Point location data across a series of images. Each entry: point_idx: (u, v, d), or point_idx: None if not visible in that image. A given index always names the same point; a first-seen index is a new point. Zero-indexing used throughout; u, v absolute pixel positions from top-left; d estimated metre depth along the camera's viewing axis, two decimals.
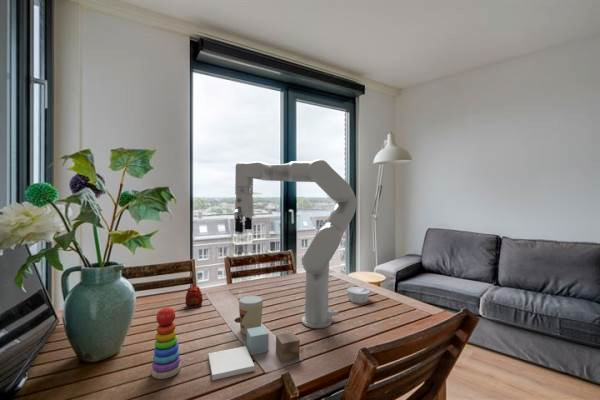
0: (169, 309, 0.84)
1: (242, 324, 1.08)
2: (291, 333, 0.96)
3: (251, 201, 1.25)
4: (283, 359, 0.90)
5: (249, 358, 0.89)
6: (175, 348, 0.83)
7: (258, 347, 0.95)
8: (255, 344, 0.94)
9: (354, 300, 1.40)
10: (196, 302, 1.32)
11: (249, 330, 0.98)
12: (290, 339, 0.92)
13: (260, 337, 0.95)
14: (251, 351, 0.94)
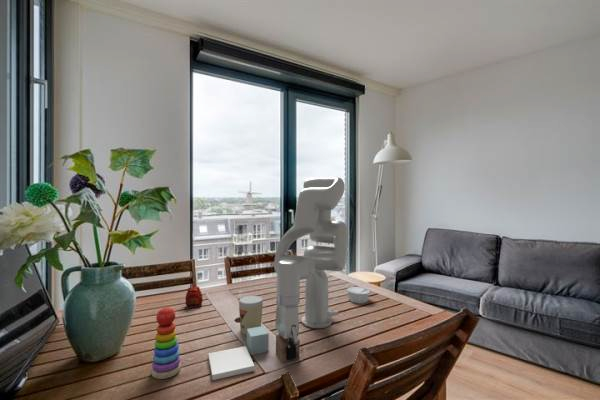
0: (169, 309, 0.84)
1: (242, 324, 1.08)
2: None
3: (281, 315, 0.91)
4: (283, 359, 0.90)
5: (249, 358, 0.89)
6: (175, 348, 0.83)
7: (258, 347, 0.95)
8: (255, 344, 0.94)
9: (354, 300, 1.40)
10: (196, 302, 1.32)
11: (249, 330, 0.98)
12: (290, 339, 0.92)
13: (260, 338, 0.95)
14: (251, 351, 0.94)
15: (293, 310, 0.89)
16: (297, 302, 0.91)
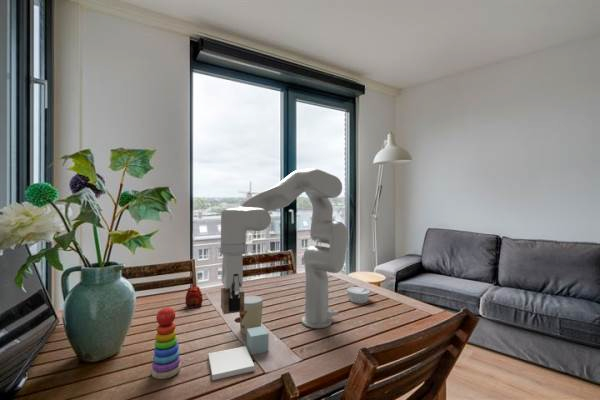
0: (169, 309, 0.84)
1: (242, 324, 1.08)
2: None
3: (224, 264, 0.85)
4: (225, 310, 0.84)
5: (249, 358, 0.89)
6: (175, 348, 0.83)
7: (258, 347, 0.95)
8: (255, 344, 0.94)
9: (354, 300, 1.40)
10: (196, 302, 1.32)
11: (249, 330, 0.98)
12: None
13: (260, 338, 0.95)
14: (251, 351, 0.94)
15: (236, 258, 0.84)
16: (242, 251, 0.86)
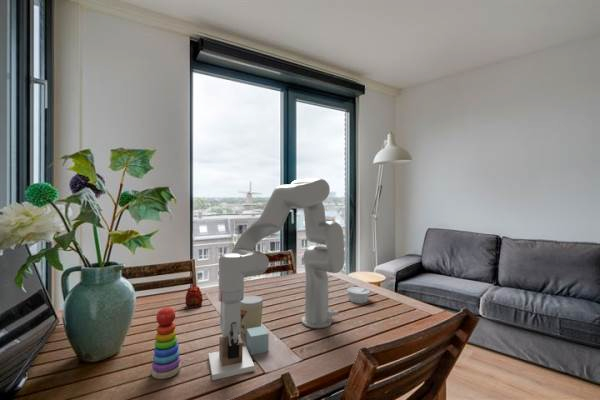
0: (169, 309, 0.84)
1: (242, 324, 1.08)
2: None
3: (222, 311, 0.85)
4: (224, 363, 0.84)
5: (249, 358, 0.89)
6: (175, 348, 0.83)
7: (258, 347, 0.95)
8: (255, 344, 0.94)
9: (354, 300, 1.40)
10: (196, 302, 1.32)
11: (249, 330, 0.98)
12: None
13: (260, 338, 0.95)
14: (251, 351, 0.94)
15: (234, 307, 0.84)
16: (239, 298, 0.86)
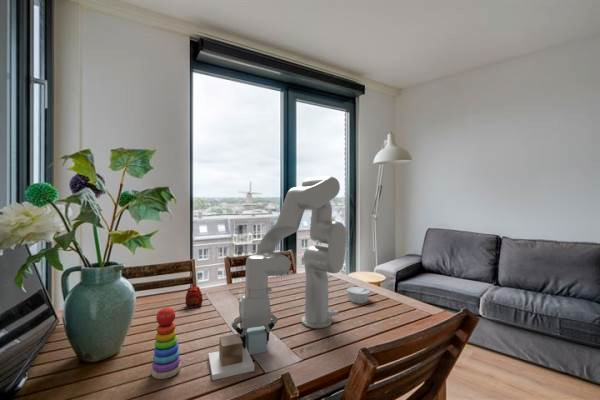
0: (169, 309, 0.84)
1: None
2: (236, 335, 0.91)
3: None
4: (224, 363, 0.84)
5: (249, 358, 0.89)
6: (175, 348, 0.83)
7: (257, 348, 0.94)
8: (253, 344, 0.94)
9: (354, 300, 1.40)
10: (196, 302, 1.32)
11: (247, 330, 0.98)
12: (233, 341, 0.87)
13: (258, 338, 0.95)
14: (249, 351, 0.94)
15: (242, 300, 0.95)
16: (248, 296, 0.94)
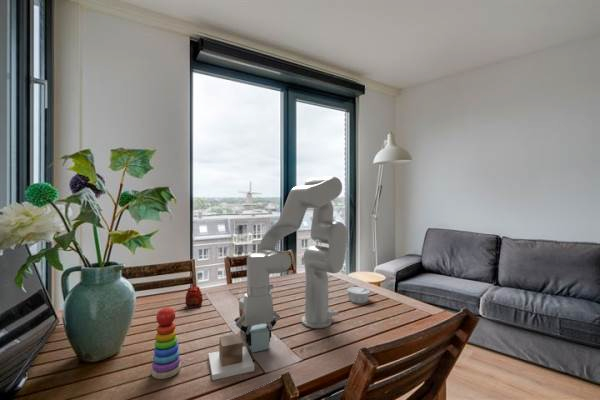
0: (169, 309, 0.84)
1: (242, 324, 1.08)
2: (236, 335, 0.91)
3: None
4: (224, 363, 0.84)
5: (249, 358, 0.89)
6: (175, 348, 0.83)
7: (260, 345, 0.95)
8: (256, 342, 0.95)
9: (354, 300, 1.40)
10: (196, 302, 1.32)
11: None
12: (233, 341, 0.87)
13: (261, 335, 0.95)
14: (252, 349, 0.94)
15: (245, 298, 0.96)
16: (250, 294, 0.94)
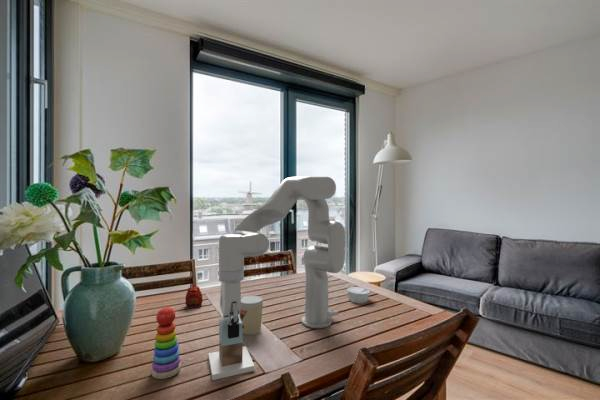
0: (169, 309, 0.84)
1: (242, 324, 1.08)
2: None
3: (222, 291, 0.85)
4: (224, 363, 0.84)
5: (249, 358, 0.89)
6: (175, 348, 0.83)
7: None
8: None
9: (354, 300, 1.40)
10: (196, 302, 1.32)
11: (226, 324, 0.85)
12: None
13: None
14: (241, 338, 0.87)
15: (234, 286, 0.84)
16: (240, 278, 0.86)
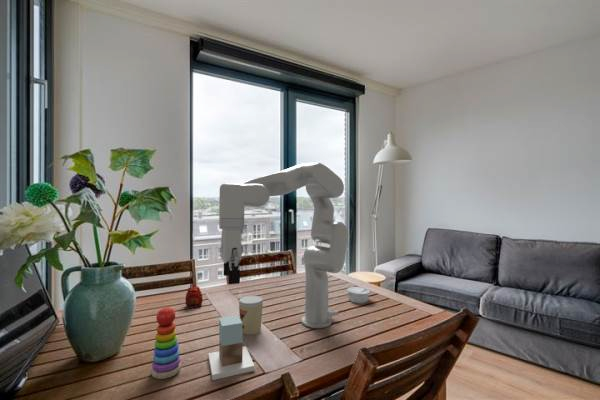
0: (169, 309, 0.84)
1: (242, 324, 1.08)
2: None
3: (223, 239, 0.85)
4: (224, 363, 0.84)
5: (249, 358, 0.89)
6: (175, 348, 0.83)
7: None
8: None
9: (354, 300, 1.40)
10: (196, 302, 1.32)
11: (226, 324, 0.85)
12: None
13: None
14: (241, 338, 0.87)
15: (235, 232, 0.84)
16: (240, 226, 0.86)
